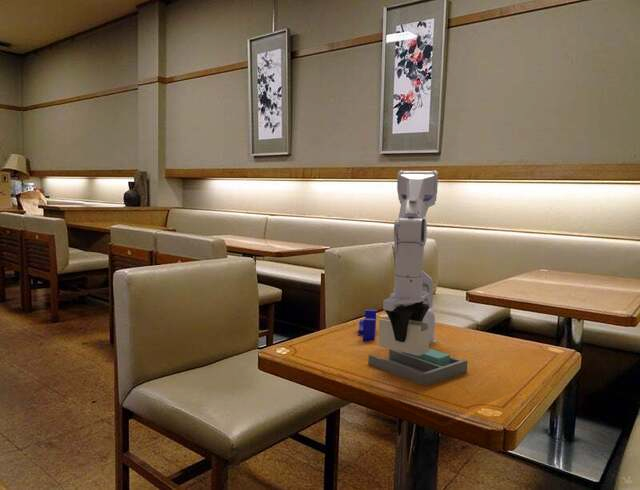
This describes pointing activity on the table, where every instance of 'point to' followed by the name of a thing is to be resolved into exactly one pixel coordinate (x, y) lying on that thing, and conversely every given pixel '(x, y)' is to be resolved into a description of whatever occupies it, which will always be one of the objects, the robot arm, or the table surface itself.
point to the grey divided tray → (418, 367)
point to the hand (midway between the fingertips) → (406, 339)
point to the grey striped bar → (414, 339)
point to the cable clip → (368, 325)
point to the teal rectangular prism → (434, 357)
